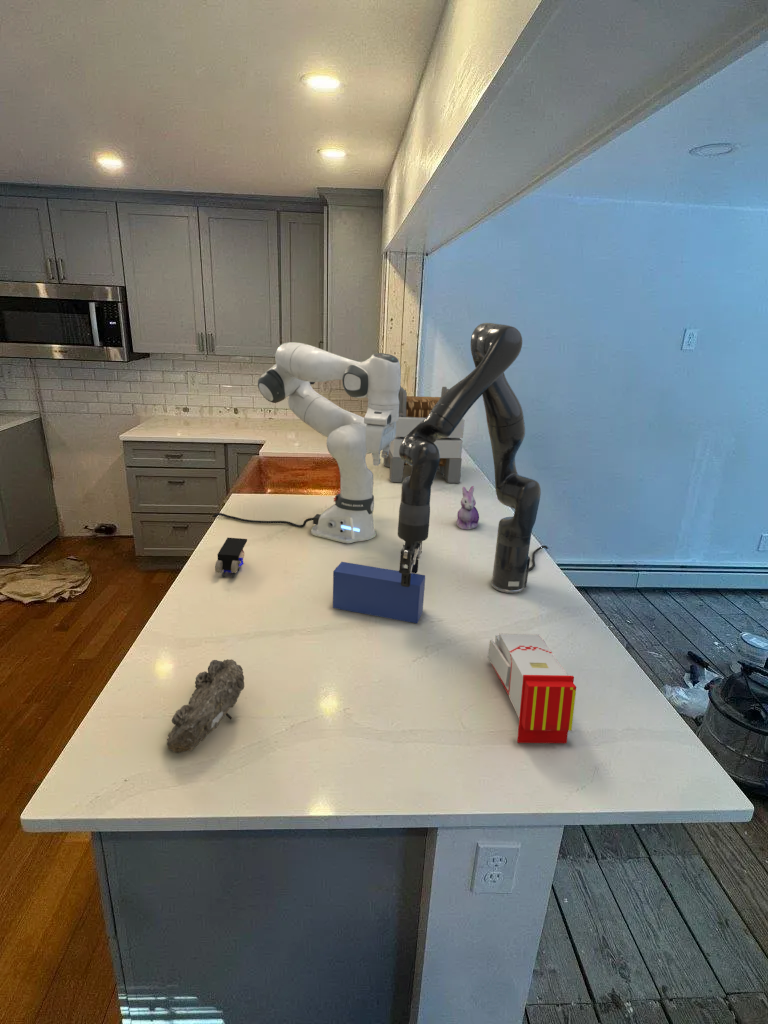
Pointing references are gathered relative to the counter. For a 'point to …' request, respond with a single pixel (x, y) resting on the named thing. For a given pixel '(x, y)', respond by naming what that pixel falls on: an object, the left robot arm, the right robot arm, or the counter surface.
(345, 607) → the box
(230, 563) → the figurine character
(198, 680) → the fossil
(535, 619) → the counter surface
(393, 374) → the left robot arm
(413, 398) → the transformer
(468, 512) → the figurine
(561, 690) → the toy
